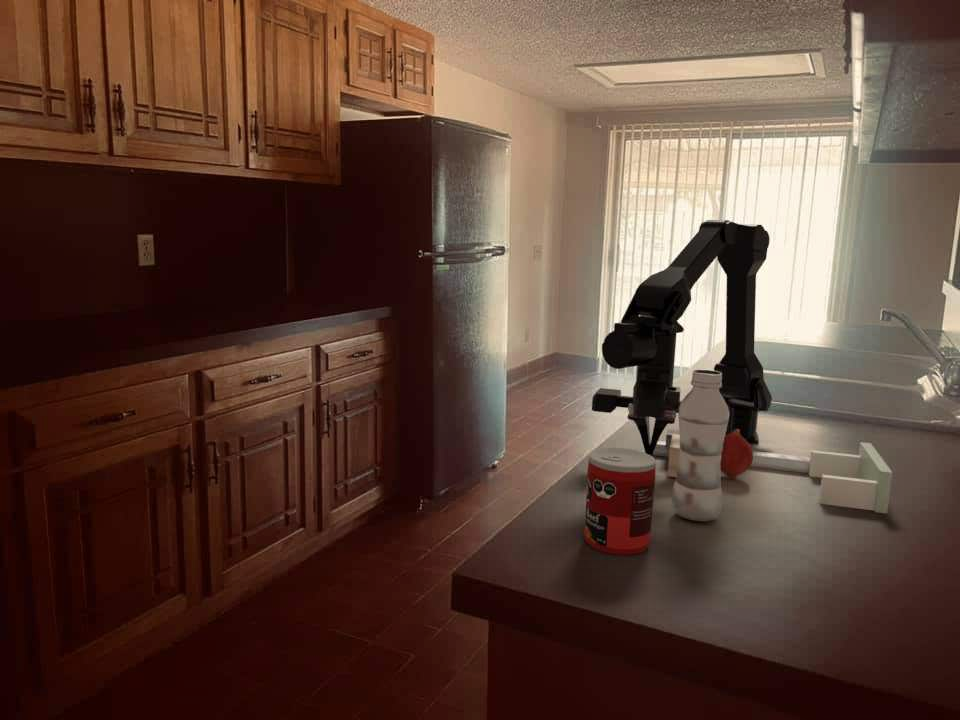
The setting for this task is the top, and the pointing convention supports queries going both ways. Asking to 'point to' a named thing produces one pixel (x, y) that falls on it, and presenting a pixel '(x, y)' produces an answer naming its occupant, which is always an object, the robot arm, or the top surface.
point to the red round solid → (735, 454)
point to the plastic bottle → (701, 448)
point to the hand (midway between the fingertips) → (649, 456)
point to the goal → (853, 478)
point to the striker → (673, 449)
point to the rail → (760, 459)
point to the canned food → (619, 500)
